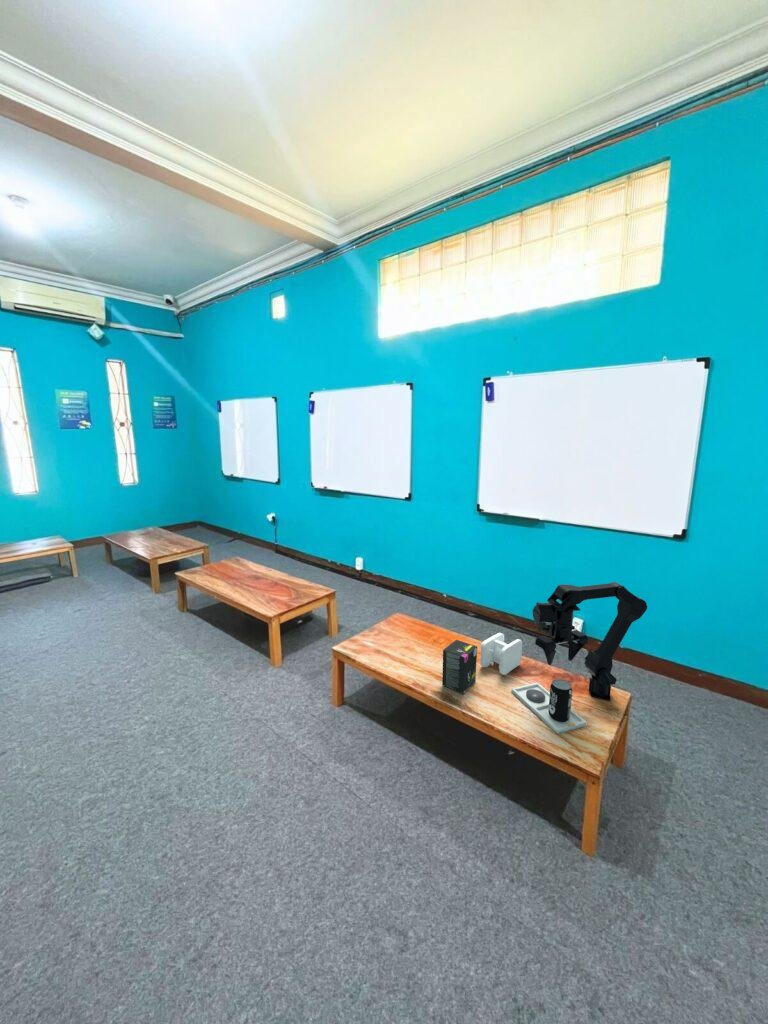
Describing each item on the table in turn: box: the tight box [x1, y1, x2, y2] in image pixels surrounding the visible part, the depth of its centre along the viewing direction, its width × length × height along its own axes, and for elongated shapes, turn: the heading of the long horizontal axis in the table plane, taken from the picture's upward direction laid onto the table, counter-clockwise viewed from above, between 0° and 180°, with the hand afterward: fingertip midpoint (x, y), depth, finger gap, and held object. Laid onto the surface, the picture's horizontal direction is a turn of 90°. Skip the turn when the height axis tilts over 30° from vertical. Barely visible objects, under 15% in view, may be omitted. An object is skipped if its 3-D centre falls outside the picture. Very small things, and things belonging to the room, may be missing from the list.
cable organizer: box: [479, 632, 523, 676], centre depth 163 cm, size 15×11×12 cm
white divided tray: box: [511, 682, 587, 735], centre depth 138 cm, size 12×23×2 cm, turn 19°
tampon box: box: [441, 639, 478, 695], centre depth 151 cm, size 11×9×15 cm
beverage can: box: [549, 678, 573, 722], centre depth 132 cm, size 7×7×12 cm
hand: (559, 662), depth 142 cm, fingers open, 9 cm apart
